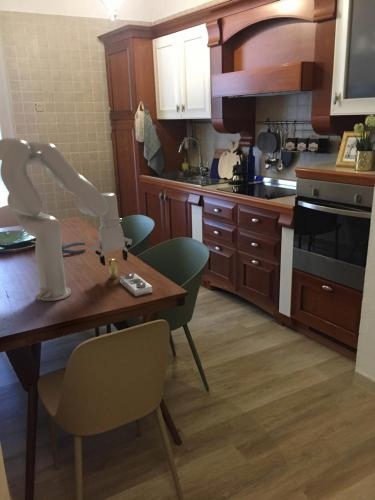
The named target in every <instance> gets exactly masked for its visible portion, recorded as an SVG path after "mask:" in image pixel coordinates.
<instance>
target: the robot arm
mask: <svg viewBox="0 0 375 500" xmlns="http://www.w3.org/2000/svg"><path fill="white" fill-rule="evenodd" d="M0 161H1V163H0V178H1V180H2V182H3V185H4V187H5V188H6V190H7V191H8V196H7V199H6V200H7V206H8V208H9V210H10V212H11V213H12V215H13V216H14V217H15V219H16V220H17V222H18V223H19V225H20V226H21V228H22V229H23V231H24V232H25V233H26V234H27V235H29V236H32V237H33V238H35V248H34V249H35V258H36V264H37V271H38V272H37V273H38V280H39V291H38V292H37V293H36V295H35V299H36V300H40V301H43V302H54V301H59V300H63V299H66V298H67V297H69V296H70V295H71V294H72V290H71V288H70V287H67V282H66V274H65V265H64V256H63V255H64V254H63V255H62V239H63V238H62V235H63V229H62V228H63V227H62V224H61V222H60V220H58V219H57V218H56V217H55V216H53V215H50V214H48V213H43V210H44V208H45V203H44V199H43V198H42V196H41V194H40V193H39V191H38V190H37V187H35V185H34V183H33V181H32V180H31V178H30V175H29V174H28V167H27V166H41V167H42V168H43V169H44V170H45V172H47V174H48V175H49V176H50V177H51V179H53V180H54V182H55V183H56V184H57V185H58V187H60V188H61V189H63V190H64V191H66V192H67V193H70V194H72V195H73V196H75V197H76V198H78V201H77V203H76V206H77V209H78V210H79V212H80V213H82V214H84V215H87V216H91V217H96V218H99V220H100V226H99V227H98V242H96V243H95V244H94V245H93V246H92V247H91V249H92V251H94V253H95V254H96V255H98V257H99V262H100V264H101V265H102V266H106V260H105V254H106V252H110V251H115V250H120V249H122V251H121V253H122V259H123V260H124V261H125V262H127V261H128V256H129V255H128V251H129V249H130V248H131V246H132V243H133V240H132V239H131V238H127V237H125V236H124V231H123V228H122V225H121V222H123V219H122V218H120V217H119V210H118V199H117V196H116V193H113V192H102V193H101V192H100V191H99V190H98V188H97V187H95V186H94V185H93V184H92V183H91V182H90V181H89V180H87V178H85V177H84V176H83V175H81V174H80V173H79V172H78V171H77V169H75V168H74V166H73V165H72V163H71V162H70V161H69V160H68V159H67V158H66V157H65V155H64V154H63V153H62V152H61V150H60V149H59V148H58V147H57V146H56V145H55V144H53V143H50V142H38V141H35V142H34V141H28V140H27V141H26V140H24V139H22V138H16V137H11V138H8V137H5V138H2V139H0ZM98 248H99V250H98Z"/></svg>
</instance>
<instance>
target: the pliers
mask: <svg viewBox="0 0 375 500" xmlns="http://www.w3.org/2000/svg"><path fill="white" fill-rule="evenodd" d="M61 245H62V244H61ZM77 246H86V243H85V242H83V241H82V242H80V241H78V242H77V241H76V242H71V243H68V244H64V245H62V255H64V254H71V255H73V254H74V255H77V254H82V253H85V252H86V251H87V250H86V248H84V249H77V250H72V249H71V250H70V249H68V248H71V247H77Z"/></svg>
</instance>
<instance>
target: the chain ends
mask: <svg viewBox="0 0 375 500" xmlns="http://www.w3.org/2000/svg"><path fill="white" fill-rule="evenodd" d="M119 283H120V284H121V285H122V286H124V287H125V288H126V289H127V290H128V291H129V292H130V293H132V295H134V296H135V297H137V296H141V295H142V296H143V295H145V294H150V293H151V294H152V293H153V285H151V284H150V283H148V282H147V281H146V279H143V278H142V277H141V276H140V275H138V274H137V273H132V272H129V273H126V274H125V275H122V276H119Z"/></svg>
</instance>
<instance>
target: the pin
mask: <svg viewBox="0 0 375 500" xmlns="http://www.w3.org/2000/svg"><path fill="white" fill-rule="evenodd" d="M107 261H108V271H109V272H108V273H109V279H110V280H111V279H113V280H114V279H118V277H119V275H118V263H117V262H118V261H117V258H113V257H112V258H108V260H107Z"/></svg>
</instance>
